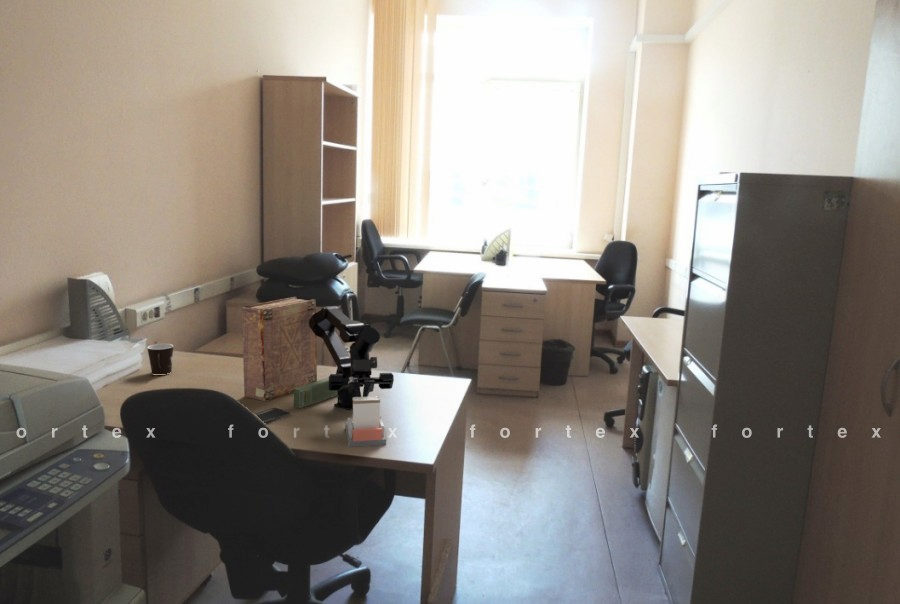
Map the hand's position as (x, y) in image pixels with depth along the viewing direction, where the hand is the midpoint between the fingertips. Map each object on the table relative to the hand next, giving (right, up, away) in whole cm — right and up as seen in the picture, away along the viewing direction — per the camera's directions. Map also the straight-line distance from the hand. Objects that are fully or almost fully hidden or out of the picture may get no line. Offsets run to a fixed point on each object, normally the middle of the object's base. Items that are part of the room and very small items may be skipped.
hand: (362, 408), depth 183 cm
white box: (+2, -6, -7) cm, 9 cm away
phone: (-30, -5, +6) cm, 31 cm away
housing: (+1, -7, -4) cm, 8 cm away
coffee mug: (-80, +4, +47) cm, 93 cm away
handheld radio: (-16, -2, +27) cm, 31 cm away
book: (-32, 0, +34) cm, 47 cm away
